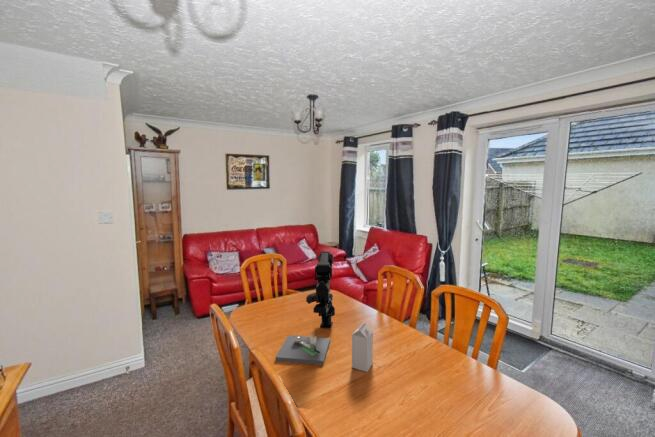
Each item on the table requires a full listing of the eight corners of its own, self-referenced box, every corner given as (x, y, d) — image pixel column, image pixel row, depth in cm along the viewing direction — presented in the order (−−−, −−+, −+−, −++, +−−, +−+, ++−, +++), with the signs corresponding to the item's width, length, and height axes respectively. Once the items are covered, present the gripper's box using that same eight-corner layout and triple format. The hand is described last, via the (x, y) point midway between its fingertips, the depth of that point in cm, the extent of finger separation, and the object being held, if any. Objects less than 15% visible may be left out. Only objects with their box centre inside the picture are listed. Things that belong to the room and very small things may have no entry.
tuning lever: (292, 342, 147) (291, 328, 146) (298, 339, 150) (297, 326, 149) (316, 355, 135) (316, 340, 135) (322, 351, 138) (322, 337, 137)
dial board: (288, 339, 155) (288, 335, 155) (330, 342, 152) (330, 337, 151) (275, 361, 136) (275, 356, 135) (323, 365, 132) (323, 360, 132)
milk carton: (351, 368, 130) (351, 326, 128) (357, 359, 136) (357, 319, 134) (367, 372, 127) (367, 329, 124) (372, 363, 133) (373, 322, 131)
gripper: (311, 281, 158) (312, 310, 159) (302, 294, 139) (303, 326, 141) (332, 283, 155) (333, 311, 157) (325, 296, 137) (326, 328, 139)
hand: (323, 319), depth 149 cm, fingers closed
